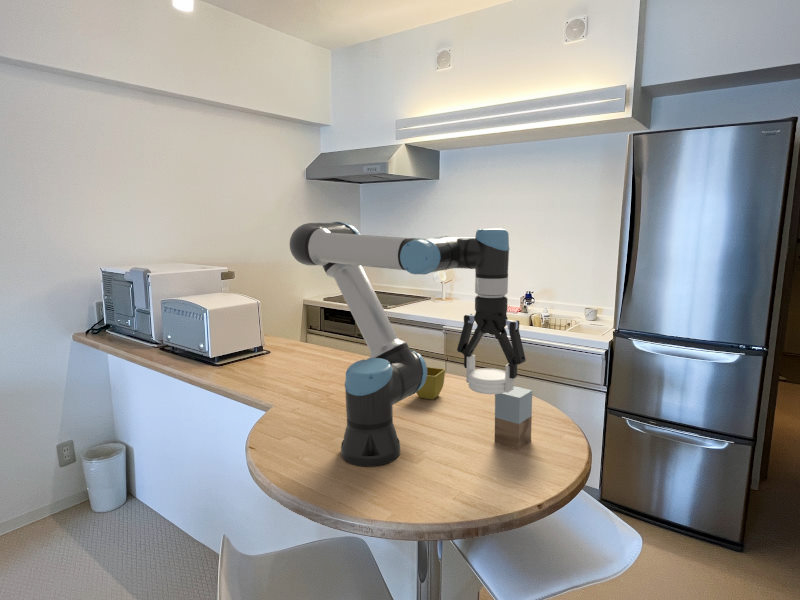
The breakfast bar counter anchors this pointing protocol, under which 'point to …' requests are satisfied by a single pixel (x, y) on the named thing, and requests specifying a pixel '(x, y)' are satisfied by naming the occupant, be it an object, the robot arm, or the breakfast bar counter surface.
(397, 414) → the breakfast bar counter surface
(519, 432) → the block bottom
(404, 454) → the breakfast bar counter surface
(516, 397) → the block top
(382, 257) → the robot arm
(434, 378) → the flower pot
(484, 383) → the white round disc
